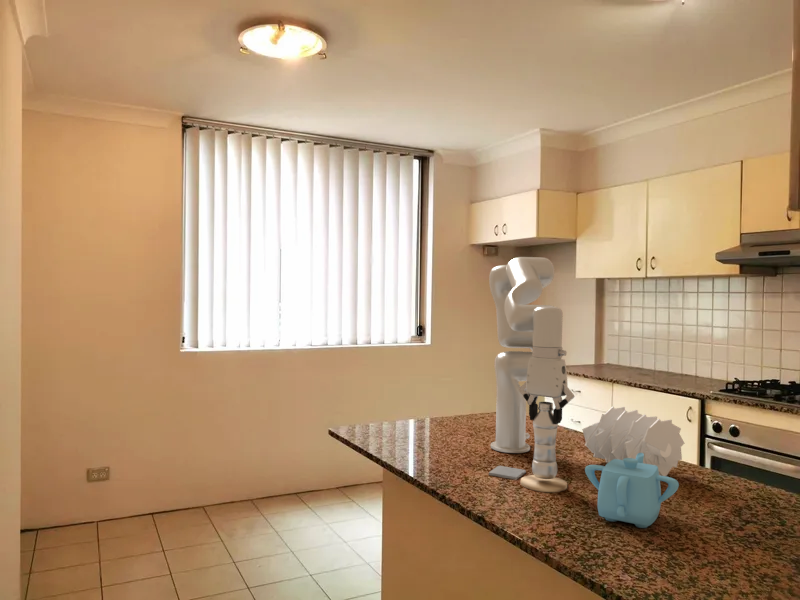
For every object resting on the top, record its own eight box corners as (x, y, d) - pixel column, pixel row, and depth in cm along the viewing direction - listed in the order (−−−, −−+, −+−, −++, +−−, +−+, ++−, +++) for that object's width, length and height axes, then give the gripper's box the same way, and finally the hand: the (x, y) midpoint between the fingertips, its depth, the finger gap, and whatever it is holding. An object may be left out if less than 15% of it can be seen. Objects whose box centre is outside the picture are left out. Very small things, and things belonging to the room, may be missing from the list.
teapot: (684, 532, 130) (686, 469, 130) (612, 533, 128) (614, 470, 128) (640, 502, 148) (642, 447, 148) (576, 503, 146) (578, 448, 146)
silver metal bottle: (543, 483, 156) (545, 406, 155) (526, 476, 162) (527, 401, 161) (562, 480, 159) (564, 404, 158) (545, 473, 165) (546, 399, 164)
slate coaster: (498, 467, 175) (498, 465, 174) (525, 472, 171) (525, 470, 171) (488, 474, 168) (488, 472, 168) (516, 479, 164) (516, 477, 164)
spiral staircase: (614, 471, 187) (678, 493, 164) (572, 450, 182) (632, 469, 159) (634, 416, 191) (699, 430, 168) (593, 394, 185) (654, 405, 162)
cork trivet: (533, 475, 168) (533, 472, 168) (574, 484, 161) (574, 481, 161) (512, 485, 159) (512, 482, 159) (555, 495, 151) (555, 492, 151)
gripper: (584, 355, 157) (582, 424, 157) (524, 349, 168) (522, 414, 168) (572, 357, 151) (570, 429, 151) (510, 351, 162) (509, 418, 162)
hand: (545, 420), depth 160 cm, fingers closed on silver metal bottle, 6 cm apart
